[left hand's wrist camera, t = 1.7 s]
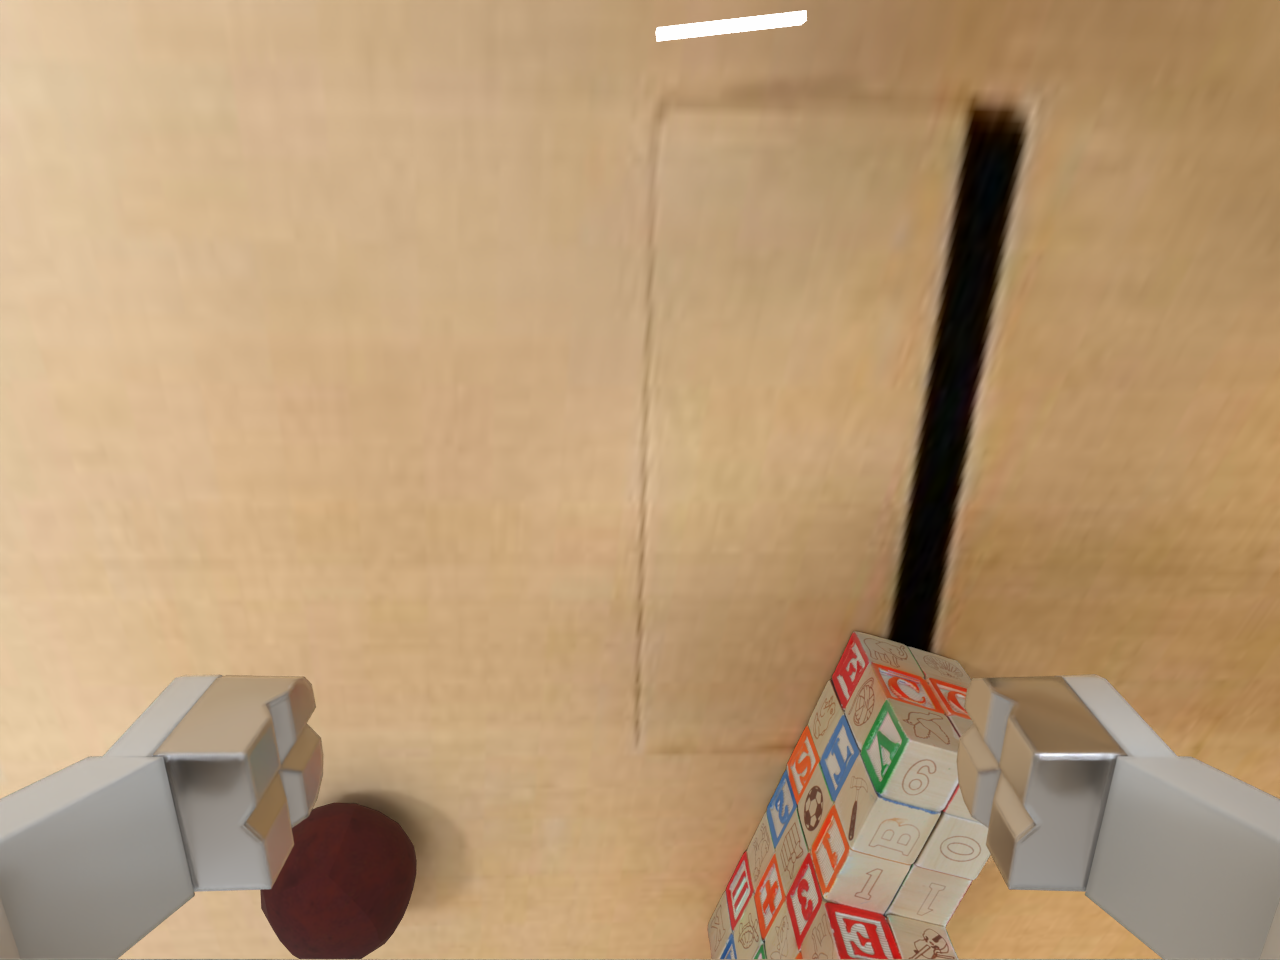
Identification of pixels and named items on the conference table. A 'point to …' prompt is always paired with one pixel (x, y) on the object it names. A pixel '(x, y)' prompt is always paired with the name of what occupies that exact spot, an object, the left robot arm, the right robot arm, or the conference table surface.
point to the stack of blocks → (862, 821)
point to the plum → (341, 883)
